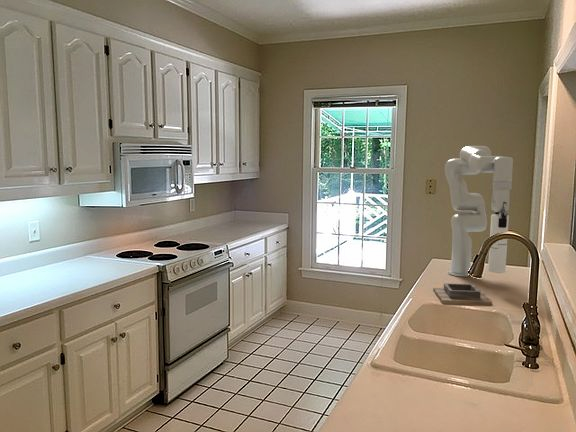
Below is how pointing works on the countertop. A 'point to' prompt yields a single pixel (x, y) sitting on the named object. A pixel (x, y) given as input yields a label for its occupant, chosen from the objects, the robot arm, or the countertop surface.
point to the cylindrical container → (497, 247)
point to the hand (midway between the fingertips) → (499, 225)
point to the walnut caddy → (461, 294)
